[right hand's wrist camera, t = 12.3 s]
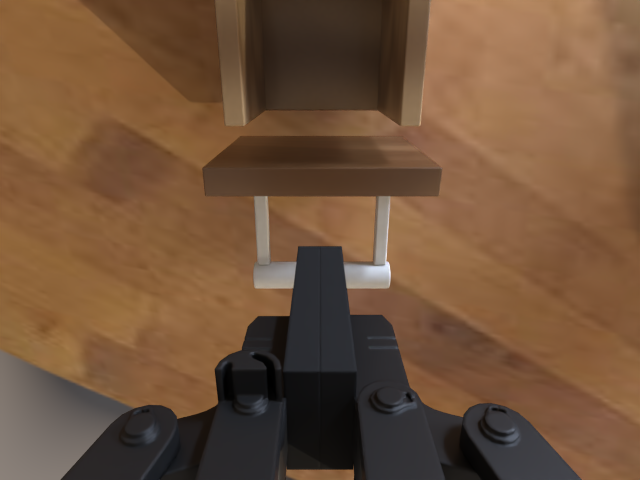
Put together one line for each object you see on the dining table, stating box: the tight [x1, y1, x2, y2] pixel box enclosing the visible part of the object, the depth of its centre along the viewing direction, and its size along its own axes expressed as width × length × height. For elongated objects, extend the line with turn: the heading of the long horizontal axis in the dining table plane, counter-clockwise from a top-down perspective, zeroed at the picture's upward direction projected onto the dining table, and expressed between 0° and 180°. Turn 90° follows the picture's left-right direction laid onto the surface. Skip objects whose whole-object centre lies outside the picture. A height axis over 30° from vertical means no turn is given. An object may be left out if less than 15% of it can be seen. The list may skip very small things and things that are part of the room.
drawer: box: [202, 0, 442, 288], centre depth 19 cm, size 23×10×9 cm, turn 0°
